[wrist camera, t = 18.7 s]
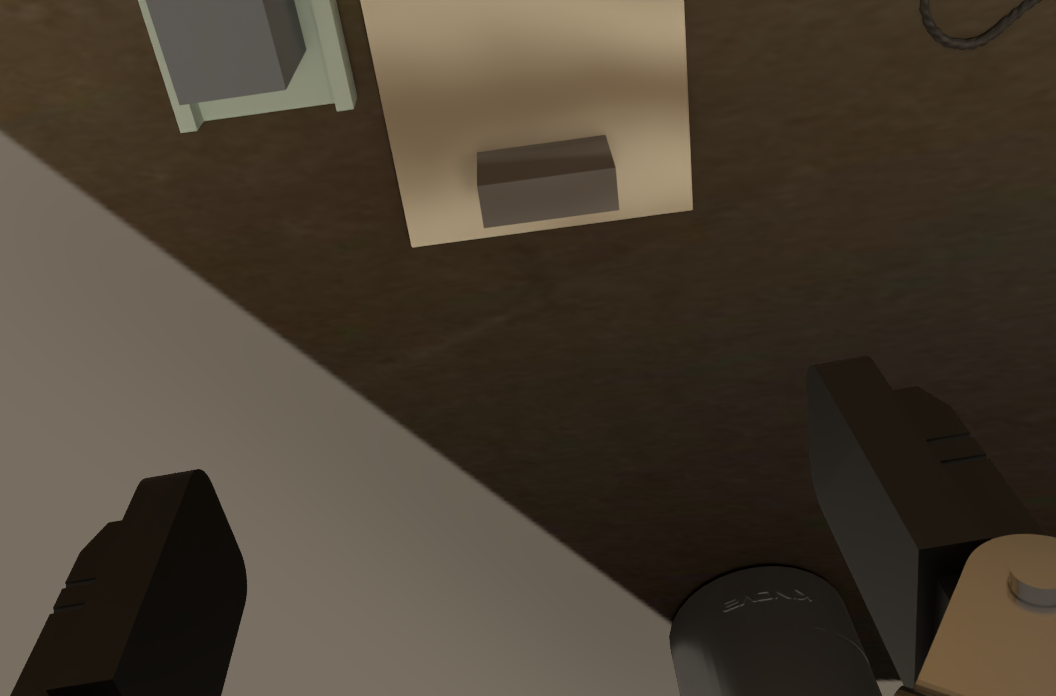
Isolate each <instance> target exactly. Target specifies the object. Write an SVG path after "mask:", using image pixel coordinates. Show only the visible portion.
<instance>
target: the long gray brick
mask: <svg viewBox="0 0 1056 696" xmlns="http://www.w3.org/2000/svg"><path fill="white" fill-rule="evenodd" d="M146 3H147V7H148V10H149V13H150V16H151V19H152V22H153V25H154V28H155V31H156V34H157V37H158V40H159V43H160V47H161V50H162V53H163V56H164V59H165V62H166V65H167V68H168V71H169V74H170V77H171V80H172V84H173V87H174V90H175V93H176V96H177V99H178V102H179V105H186V104H193V103H200V102H207V101H214V100H221V99H227V98H234V97H241V96H248V95H255V94H262V93H269V92H276V91H283V90H286V89H287V87H288V85H289V83H290V81H291V79H292V77H293V75H294V73H295V71H296V69H297V67H298V65H299V63H300V61H301V59H302V58H303V56H304V54H305V52H306V46H305V42H304V38H303V34H302V30H301V26H300V22H299V18H298V14H297V10H296V6H295V2H294V0H146Z"/></svg>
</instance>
